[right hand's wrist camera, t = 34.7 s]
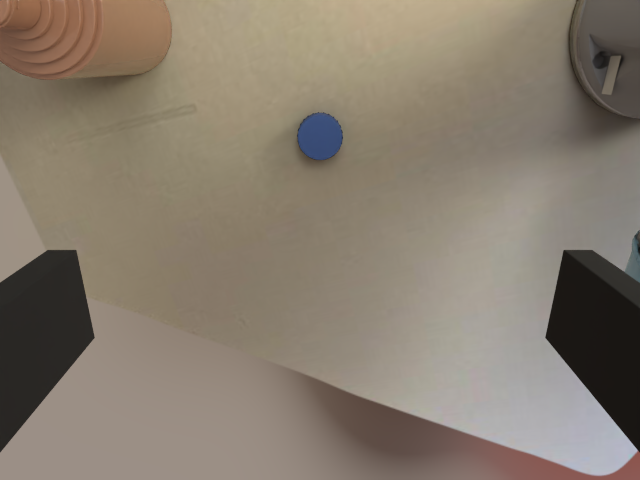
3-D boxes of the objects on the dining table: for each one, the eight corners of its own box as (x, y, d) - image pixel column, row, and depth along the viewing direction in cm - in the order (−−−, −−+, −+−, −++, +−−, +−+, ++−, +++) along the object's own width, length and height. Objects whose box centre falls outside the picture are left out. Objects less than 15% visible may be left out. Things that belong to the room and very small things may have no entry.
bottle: (166, 84, 39) (61, 98, 23) (74, 62, 39) (-98, 62, 23) (176, -16, 37) (65, -78, 21) (78, -41, 36) (-116, -124, 20)
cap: (351, 130, 41) (352, 133, 39) (324, 165, 42) (324, 169, 40) (315, 102, 40) (315, 104, 38) (289, 139, 41) (288, 142, 39)
